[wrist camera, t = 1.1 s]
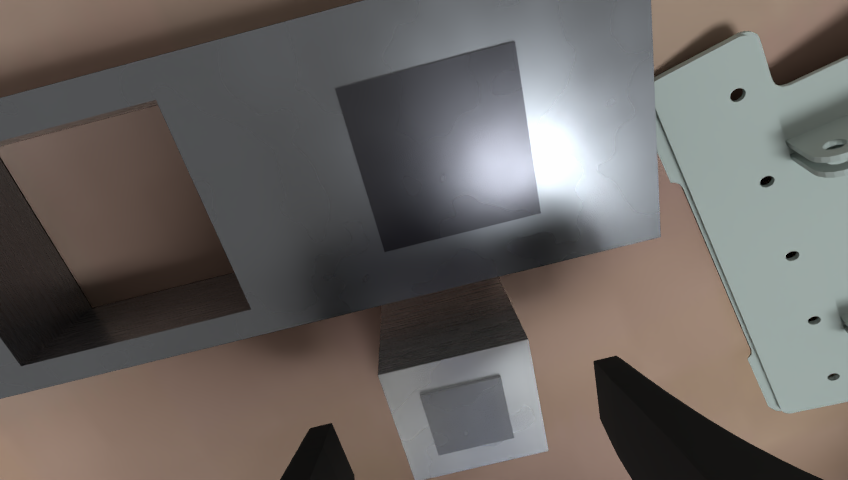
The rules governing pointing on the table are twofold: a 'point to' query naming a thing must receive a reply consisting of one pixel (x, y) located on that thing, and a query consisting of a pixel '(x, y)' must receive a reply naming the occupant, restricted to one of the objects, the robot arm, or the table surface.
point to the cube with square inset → (459, 379)
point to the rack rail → (352, 169)
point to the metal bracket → (769, 207)
